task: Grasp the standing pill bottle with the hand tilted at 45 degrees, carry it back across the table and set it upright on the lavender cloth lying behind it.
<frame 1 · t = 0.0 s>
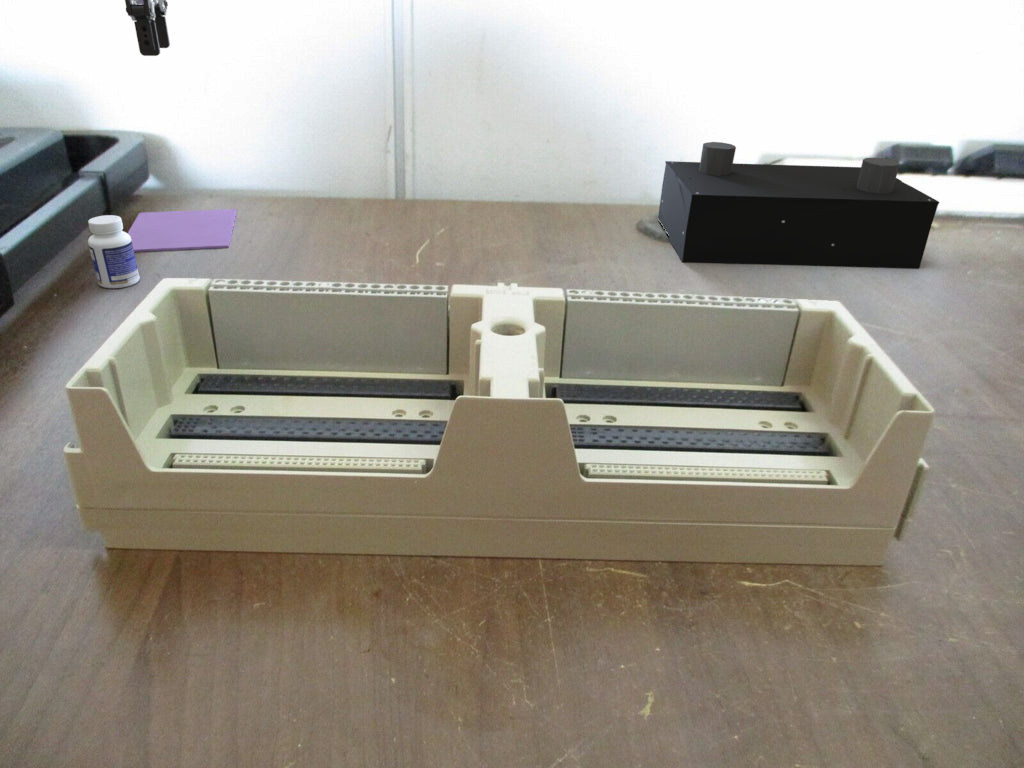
hand: (156, 51, 96), 29 cm above the table, tool pointing down, fingers open, 8 cm apart
pill bottle: (119, 283, 106), on the table
control box: (776, 241, 131), on the table
cloth: (182, 230, 126), on the table
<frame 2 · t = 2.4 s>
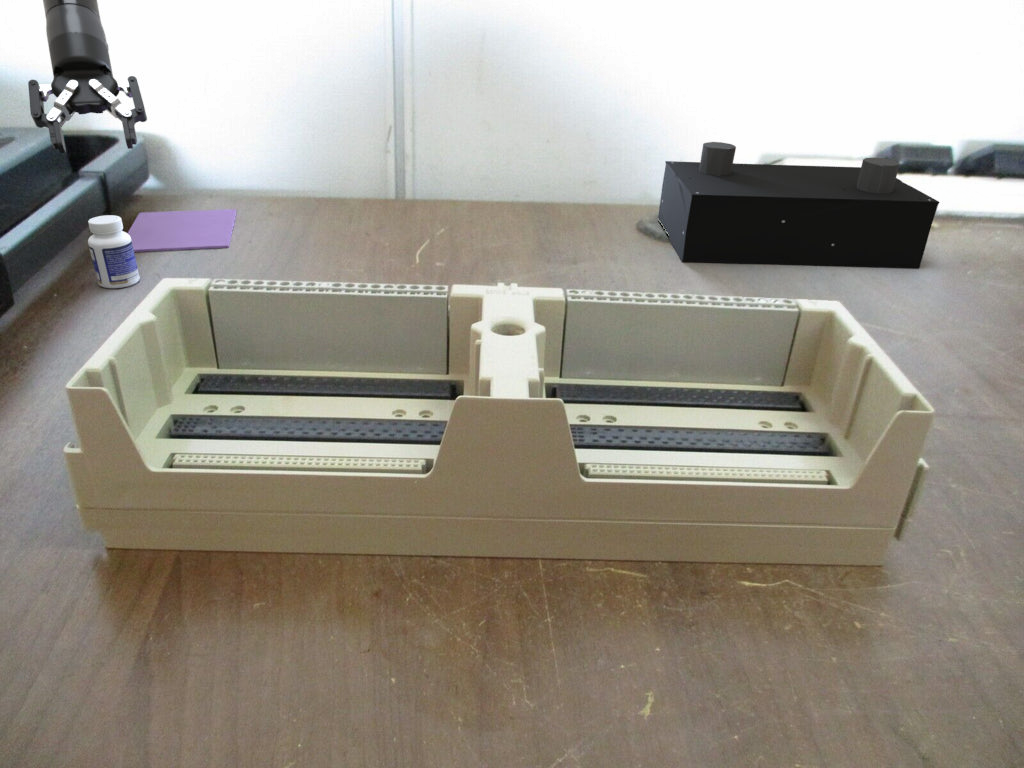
hand: (96, 147, 106), 16 cm above the table, tool tilted 45°, fingers open, 8 cm apart
nothing on the table moved.
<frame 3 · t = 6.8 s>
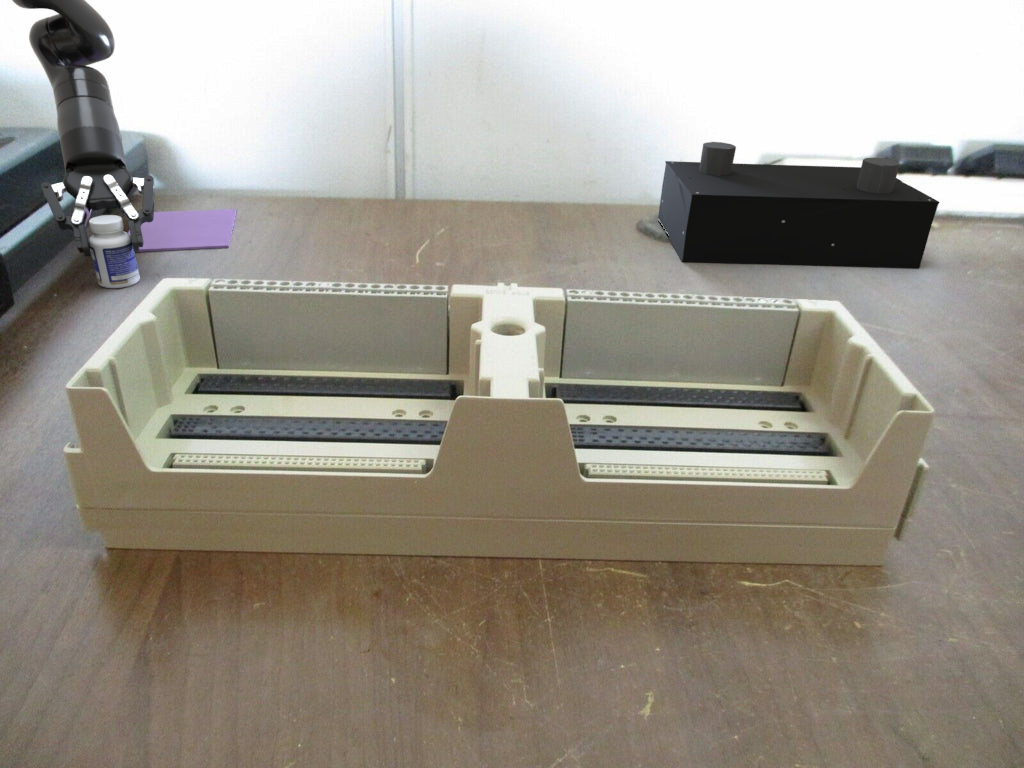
hand: (112, 250, 101), 5 cm above the table, tool tilted 45°, fingers closed on pill bottle, 5 cm apart
pill bottle: (119, 283, 106), on the table, touching gripper
everything else where it was.
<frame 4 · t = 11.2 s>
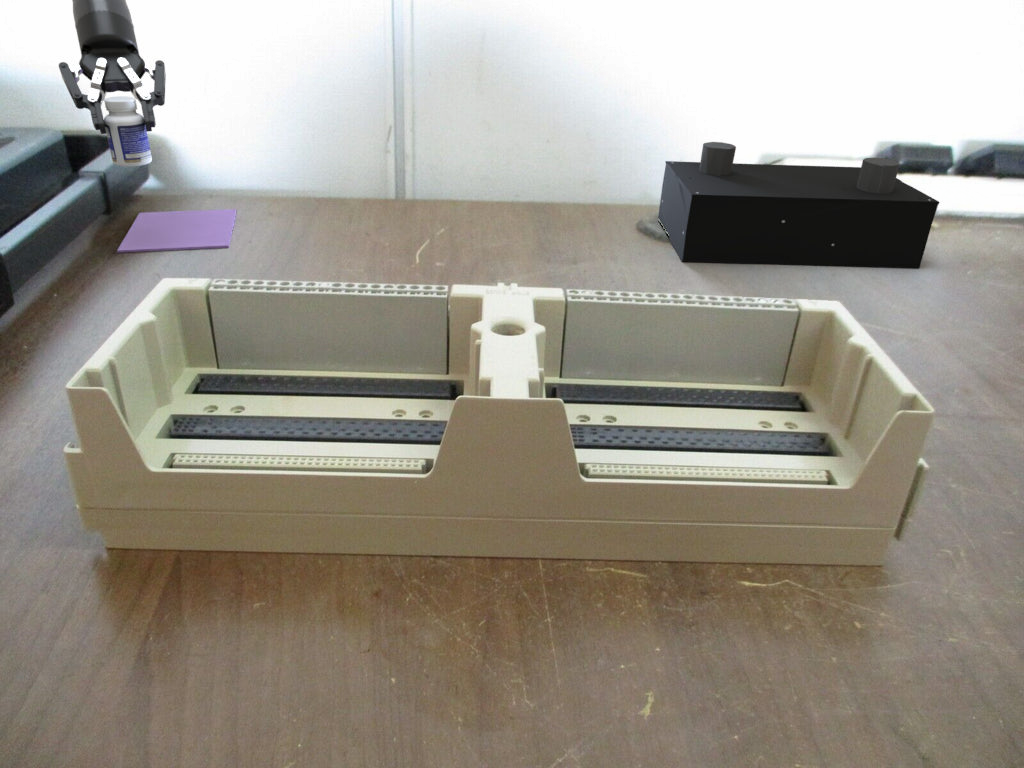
hand: (126, 128, 107), 18 cm above the table, tool tilted 45°, fingers closed on pill bottle, 5 cm apart
pill bottle: (133, 164, 112), point 13 cm above the table, touching gripper
everything else where it was.
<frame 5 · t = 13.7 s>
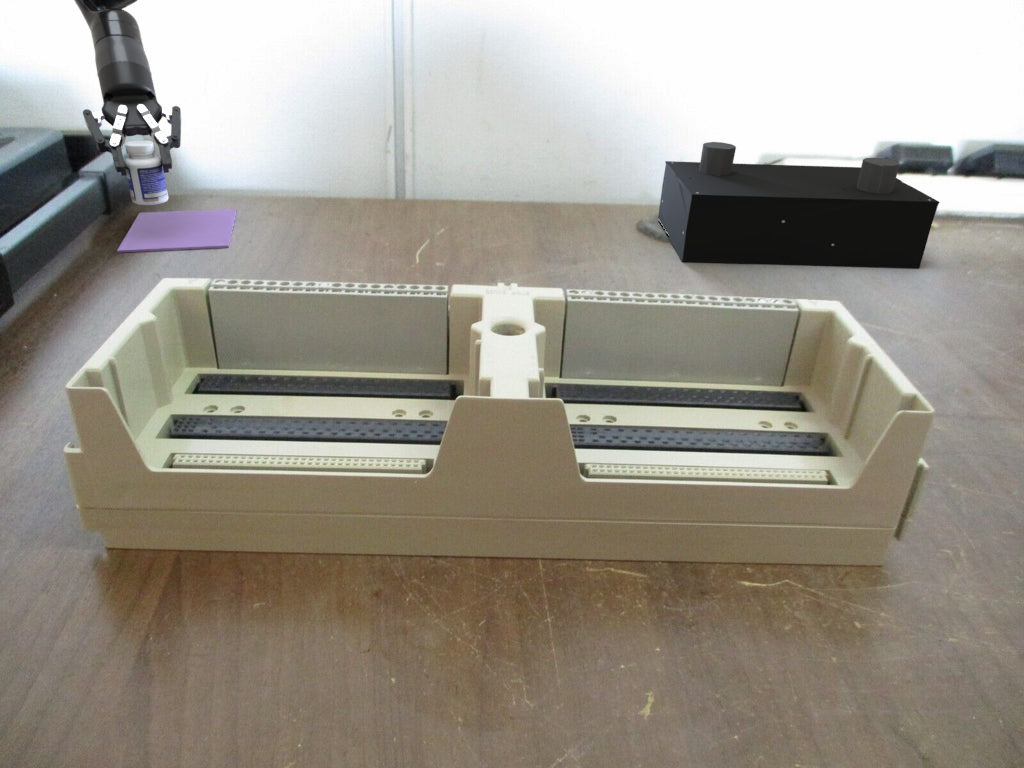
hand: (145, 170, 115), 11 cm above the table, tool tilted 45°, fingers closed on pill bottle, 5 cm apart
pill bottle: (150, 202, 120), point 6 cm above the table, touching gripper
everything else where it was.
when the fingers open (6 cm above the table, at t = 15.8 s): pill bottle stays where it is, resting on cloth.
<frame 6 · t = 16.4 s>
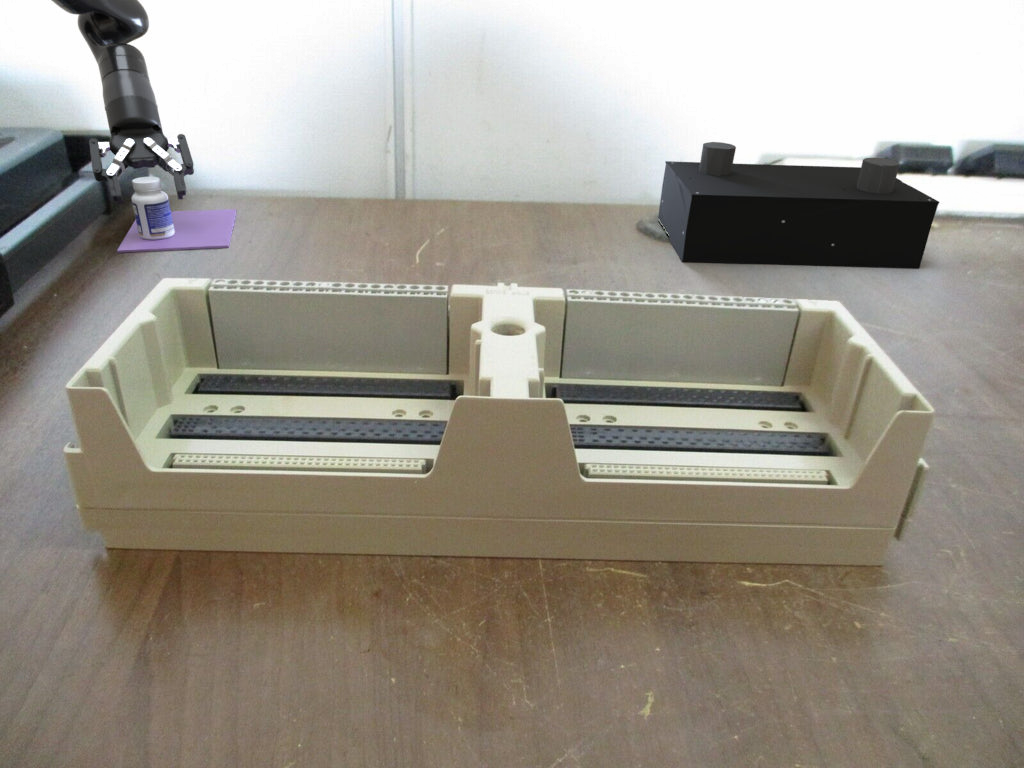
hand: (150, 199, 118), 7 cm above the table, tool tilted 45°, fingers open, 8 cm apart
pill bottle: (157, 236, 122), resting on cloth
everything else where it was.
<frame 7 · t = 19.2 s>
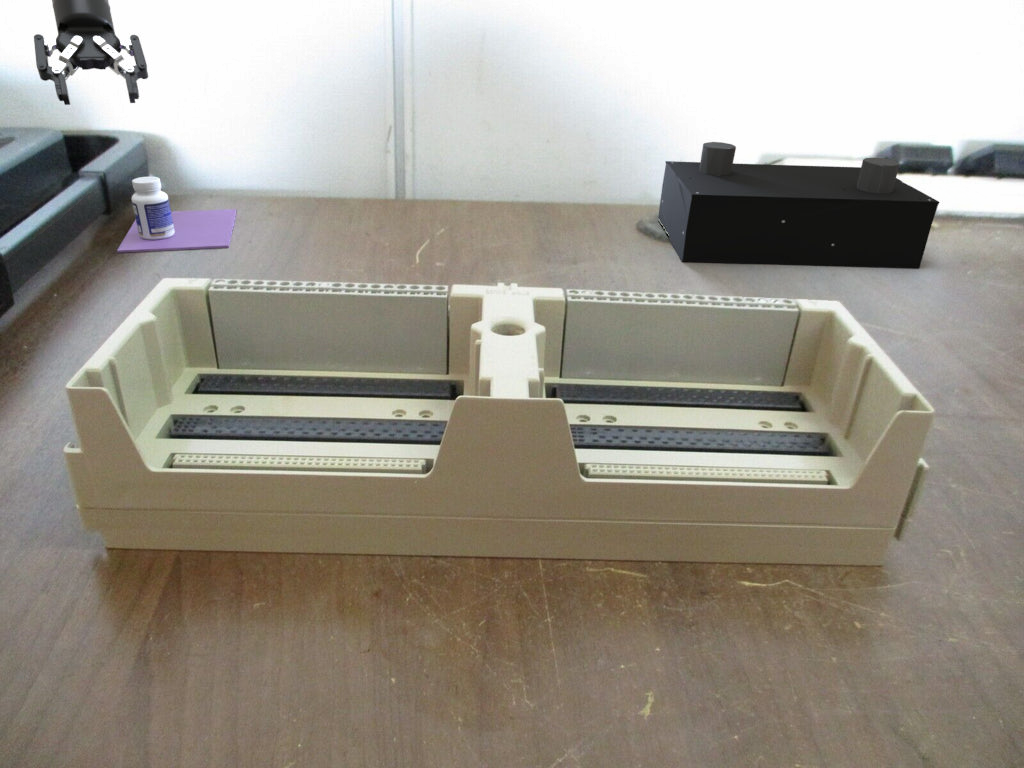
hand: (100, 100, 110), 21 cm above the table, tool tilted 45°, fingers open, 8 cm apart
nothing on the table moved.
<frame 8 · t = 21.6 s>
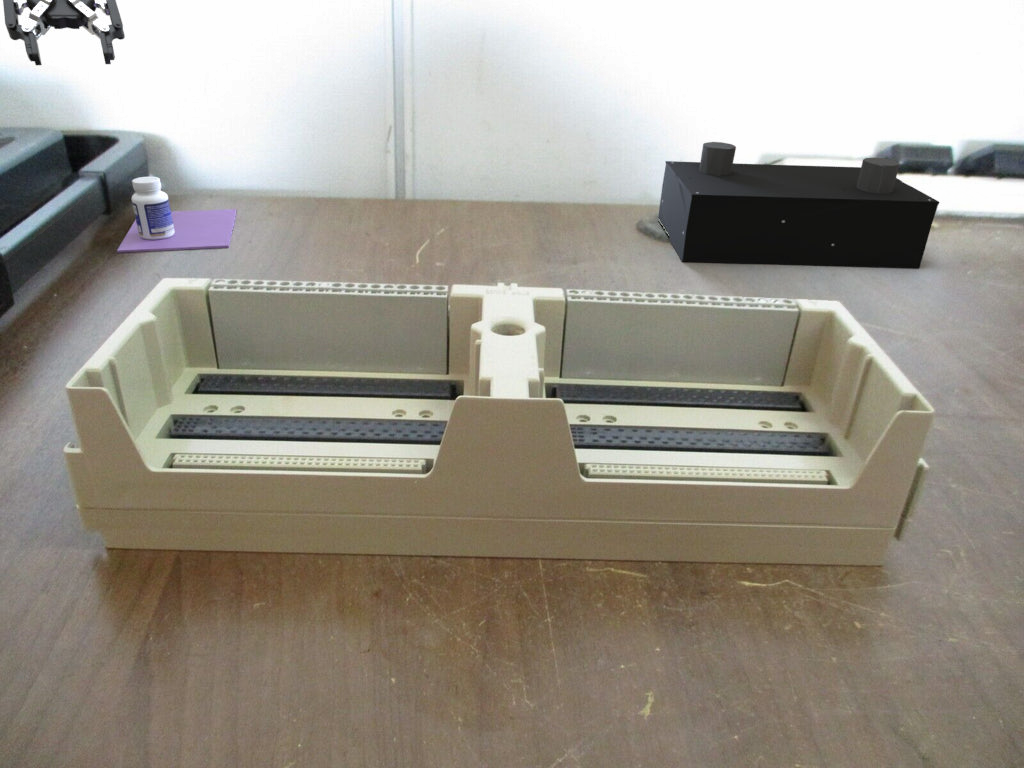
hand: (73, 60, 105), 27 cm above the table, tool tilted 45°, fingers open, 8 cm apart
nothing on the table moved.
at the end: pill bottle inside the target area on the cloth (4.7 cm from its centre), point 0.2 cm above the cloth's base; pill bottle tilted 0°; the gripper is holding nothing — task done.
